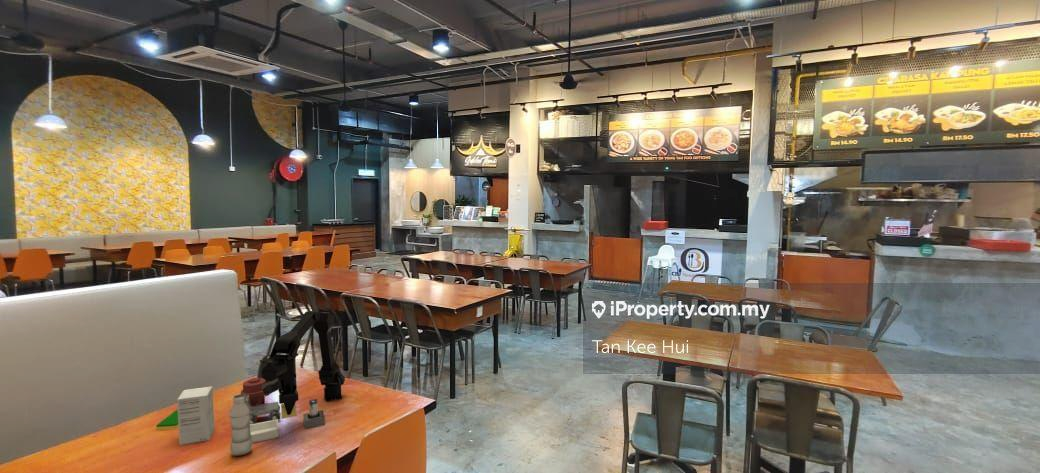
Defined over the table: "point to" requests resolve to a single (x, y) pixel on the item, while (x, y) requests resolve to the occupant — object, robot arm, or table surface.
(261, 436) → the tray
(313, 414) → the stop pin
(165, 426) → the dish sponge
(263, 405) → the trolley
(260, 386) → the mechanical component
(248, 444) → the plastic bottle
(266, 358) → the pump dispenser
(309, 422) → the pin bracket
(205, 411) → the supplement box
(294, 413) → the block
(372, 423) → the table surface
